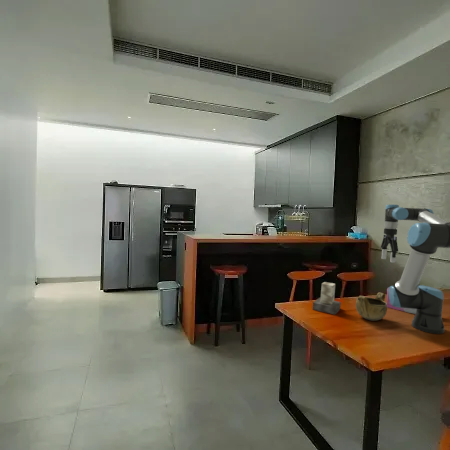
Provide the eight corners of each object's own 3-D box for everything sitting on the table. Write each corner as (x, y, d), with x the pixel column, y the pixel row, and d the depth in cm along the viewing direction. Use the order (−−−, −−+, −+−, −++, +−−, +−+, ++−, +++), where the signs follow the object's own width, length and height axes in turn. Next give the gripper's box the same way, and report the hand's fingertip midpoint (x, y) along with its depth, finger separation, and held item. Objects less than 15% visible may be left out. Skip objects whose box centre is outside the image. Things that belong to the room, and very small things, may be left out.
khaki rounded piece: (372, 327, 164) (374, 300, 163) (345, 316, 179) (347, 292, 178) (394, 320, 176) (396, 295, 175) (367, 311, 191) (369, 288, 190)
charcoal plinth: (340, 309, 194) (340, 302, 193) (335, 315, 182) (335, 307, 182) (318, 304, 201) (319, 297, 201) (312, 310, 190) (313, 302, 189)
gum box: (384, 306, 202) (385, 287, 201) (387, 304, 208) (389, 285, 207) (425, 316, 186) (427, 295, 185) (428, 314, 191) (430, 293, 191)
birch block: (333, 301, 193) (335, 283, 192) (331, 304, 187) (332, 285, 186) (323, 299, 197) (324, 281, 196) (320, 302, 191) (321, 283, 190)
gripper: (406, 229, 180) (403, 264, 181) (388, 227, 204) (386, 257, 205) (393, 229, 180) (390, 263, 182) (377, 226, 205) (374, 257, 206)
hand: (388, 260), depth 194 cm, fingers open, 13 cm apart
